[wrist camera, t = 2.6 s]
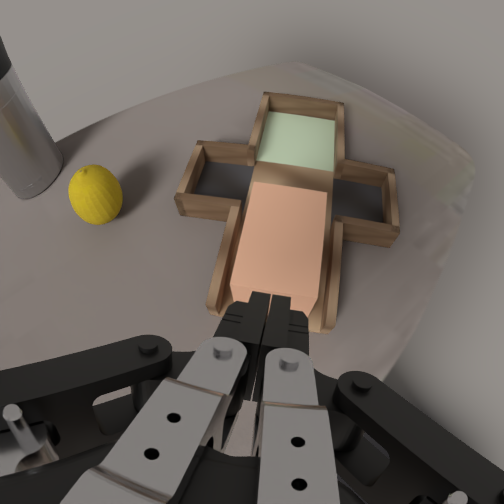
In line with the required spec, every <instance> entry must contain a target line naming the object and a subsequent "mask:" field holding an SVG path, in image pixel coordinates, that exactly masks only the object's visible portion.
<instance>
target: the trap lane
mask: <svg viewBox="0 0 504 504" xmlns="http://www.w3.org/2000/svg"><path fill="white" fill-rule="evenodd" d="M269 111H270V112H278V113H286V114H294V115H301V116H308V117H315V118H321V119H327V120H333V121H335V131H334V169H333V172H331V171H326V170H320V169H314V168H307V167H301V166H294V165H287V164H280V163H273V162H265V161H257V160H256V159H257V155H258V151H259V147H260V143H261V139H262V135H263V131H264V127H265V123H266V120H267V116H268V112H269ZM254 182H261V183H268V184H275V185H282V186H289V187H296V188H302V189H309V190H315V191H321V192H327V202H326V216H325V229H324V240H323V251H322V262H321V271H320V281H319V290H318V298H317V300H316V302H315V304H314V306H313V308H312V310H311V312H310V314H309V316H308V317H307V318H308V319H309V327H308V328H309V332H316V333H324V334H328V333H329V332H330V331H331V330H332V329H333V328H334V327H335V324H336V315H337V305H338V294H339V282H340V269H341V254H342V240H347V241H353V242H359V243H364V244H370V245H376V246H382V247H387V248H390V247H391V245H392V244H393V242H394V241H395V240H396V238H397V237H398V235H399V234H400V227H399V213H398V201H397V190H396V181H395V172H394V169H391V168H387V167H382V166H377V165H373V164H368V163H363V162H358V161H353V160H347V159H345V142H344V103H341V102H335V101H329V100H323V99H317V98H311V97H304V96H296V95H289V94H280V93H271V92H264V93H263V97H262V100H261V103H260V107H259V110H258V113H257V117H256V120H255V124H254V127H253V130H252V134H251V137H250V141H249V144H248V145H245V144H235V143H225V142H213V141H201V140H198V141H197V144H196V146H195V148H194V150H193V153H192V155H191V158H190V160H189V162H188V165H187V167H186V170H185V172H184V175H183V177H182V179H181V182H180V184H179V187H178V189H177V192H176V195H175V197H174V200H175V203H176V206H177V208H178V211H179V214H180V215H181V216H189V217H196V218H203V219H210V220H217V221H224V222H227V223H226V227H225V231H224V234H223V238H222V242H221V246H220V250H219V253H218V257H217V261H216V265H215V269H214V273H213V277H212V281H211V285H210V289H209V293H208V297H207V301H206V307H207V308H208V310H209V312H210V314H211V315H215V316H220V317H223V316H224V314H225V312H226V310H227V307H228V306H229V305H230V304H232V303H234V300H233V296H232V292H231V287H230V281H231V277H232V272H233V268H234V264H235V259H236V255H237V251H238V246H239V242H240V238H241V234H242V229H243V225H244V221H245V217H246V213H247V208H248V204H249V200H250V196H251V192H252V187H253V183H254Z"/></svg>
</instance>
